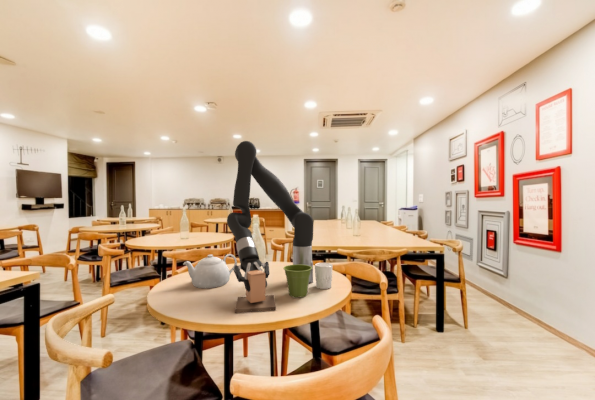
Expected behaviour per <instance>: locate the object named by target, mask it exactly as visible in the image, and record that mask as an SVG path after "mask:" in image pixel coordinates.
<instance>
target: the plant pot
mask: <svg viewBox="0 0 595 400" xmlns="http://www.w3.org/2000/svg"><path fill="white" fill-rule="evenodd" d="M282 268H283V270H284V273H285V277H286V283H287V289H288V294H289V296H290V297H291V298H295V299H296V298H305V297H306V296H307V294H308V287H309V283H308V282H309V275H310V272H311V269H312V267H311V266H308V265H293V264H289V265H284V267H282Z"/></svg>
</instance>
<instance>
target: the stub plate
mask: <svg viewBox="0 0 595 400" xmlns="http://www.w3.org/2000/svg"><path fill="white" fill-rule="evenodd" d="M276 307H277V305H276V300H275V295H274V294H268V295H267V294H266V300H264V301H259V302H254V303H250V302H249V301H248V300H247V298H246V296H237V299H236V303H235V308H234V314H238V313H239V314H240V313H254V312H270V311H276V310H277V308H276Z"/></svg>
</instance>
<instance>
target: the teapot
mask: <svg viewBox="0 0 595 400" xmlns="http://www.w3.org/2000/svg"><path fill="white" fill-rule="evenodd" d="M228 257H231V258H233V260H234V265H233V266H232V267H231V269H230V268H229V267H228V265H227V262H226V259H227V258H228ZM182 265H183V266H187V271H188V275H189V277H190V279H191V283H192V285H193V286H194V287H195V288H198V289H213V288H218V287H222V286H224V285H226V284H227V283H229V280H230V276H231V275H232V274H231V273H232V272H234V267H235V265H237V266H238V261H237V257H235V255H234V254H231V253H228V254H226V255H225V256H224V257H223V259H222V258H219V257H217V256H214V254H207V256H206V257H204V258H202V259H200V261H199V260H198V262H197V263H196V265H195V266H193V264H192V263H191V261H189V260H185V261H184V262H183V263H182Z"/></svg>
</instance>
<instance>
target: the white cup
mask: <svg viewBox="0 0 595 400" xmlns="http://www.w3.org/2000/svg"><path fill="white" fill-rule="evenodd" d="M314 269H315V270H314V274H315V287H316V288H317V289H319V288H320V289H319V290H329V289H328V288H330V289H331V288H332V281H333V264H332V263H330V262H317V263H315V264H314Z"/></svg>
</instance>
